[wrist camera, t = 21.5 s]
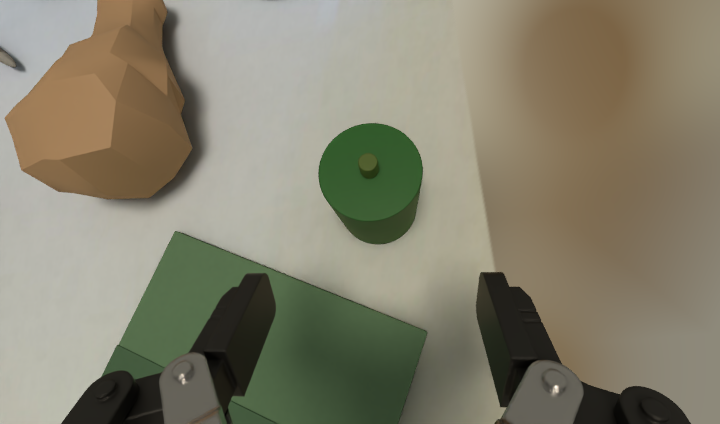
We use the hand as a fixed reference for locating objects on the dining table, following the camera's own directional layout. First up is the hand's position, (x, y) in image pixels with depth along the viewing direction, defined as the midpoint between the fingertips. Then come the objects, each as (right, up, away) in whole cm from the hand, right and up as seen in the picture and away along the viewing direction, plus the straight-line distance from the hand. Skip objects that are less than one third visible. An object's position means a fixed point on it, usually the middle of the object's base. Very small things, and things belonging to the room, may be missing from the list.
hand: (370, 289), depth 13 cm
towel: (-7, -7, +11) cm, 15 cm away
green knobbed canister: (+1, +3, +13) cm, 13 cm away
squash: (-19, +12, +17) cm, 28 cm away
